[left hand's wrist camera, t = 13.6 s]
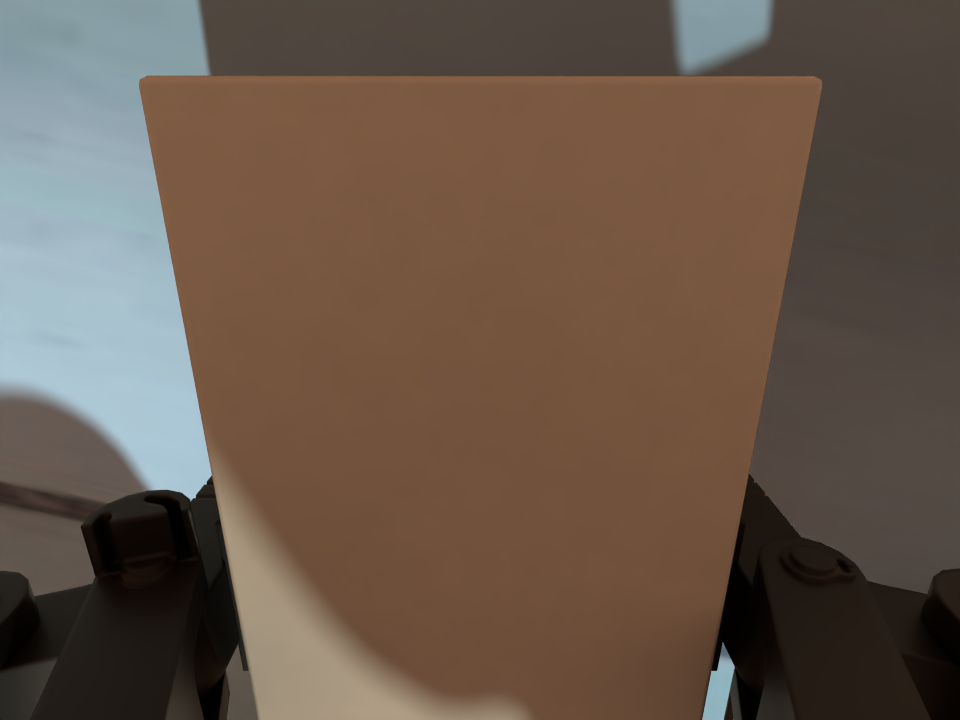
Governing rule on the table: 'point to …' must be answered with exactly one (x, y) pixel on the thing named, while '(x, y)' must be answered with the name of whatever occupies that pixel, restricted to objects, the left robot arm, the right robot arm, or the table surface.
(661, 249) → the post
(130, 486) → the table surface
